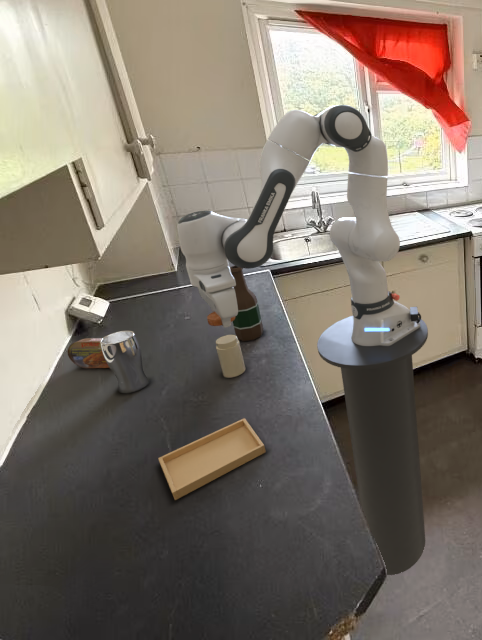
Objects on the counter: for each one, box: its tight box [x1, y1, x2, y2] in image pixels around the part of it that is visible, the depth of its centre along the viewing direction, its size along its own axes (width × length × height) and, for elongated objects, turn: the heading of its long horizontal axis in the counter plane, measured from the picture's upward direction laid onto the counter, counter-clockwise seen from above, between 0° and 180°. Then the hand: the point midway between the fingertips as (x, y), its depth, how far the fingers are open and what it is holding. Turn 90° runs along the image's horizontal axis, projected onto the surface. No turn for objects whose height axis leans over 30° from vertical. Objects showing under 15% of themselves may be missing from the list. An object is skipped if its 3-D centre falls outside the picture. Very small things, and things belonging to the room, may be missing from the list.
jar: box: [215, 334, 247, 379], centre depth 117 cm, size 5×5×11 cm
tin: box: [67, 337, 110, 369], centre depth 119 cm, size 15×3×8 cm, turn 92°
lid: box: [206, 311, 235, 327], centre depth 113 cm, size 6×6×2 cm
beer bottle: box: [229, 265, 264, 342], centre depth 133 cm, size 8×8×24 cm
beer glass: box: [100, 330, 150, 394], centre depth 109 cm, size 7×7×15 cm
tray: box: [157, 417, 267, 501], centre depth 90 cm, size 16×12×2 cm
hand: (222, 321), depth 113 cm, fingers closed on lid, 6 cm apart
